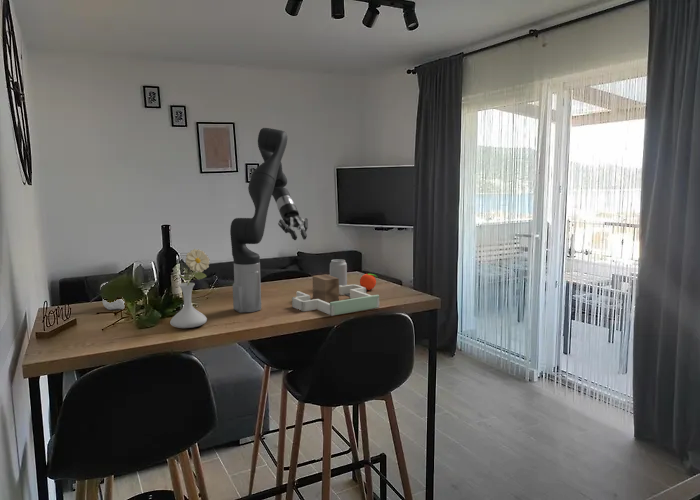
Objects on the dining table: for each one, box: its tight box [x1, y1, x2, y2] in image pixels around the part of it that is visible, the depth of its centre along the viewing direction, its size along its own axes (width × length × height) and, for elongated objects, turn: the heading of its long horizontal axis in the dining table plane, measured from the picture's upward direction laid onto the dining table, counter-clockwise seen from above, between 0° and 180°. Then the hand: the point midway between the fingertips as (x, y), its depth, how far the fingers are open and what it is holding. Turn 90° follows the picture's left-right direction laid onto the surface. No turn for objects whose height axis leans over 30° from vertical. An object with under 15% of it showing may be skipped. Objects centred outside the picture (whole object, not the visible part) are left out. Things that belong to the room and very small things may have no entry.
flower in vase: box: [169, 248, 211, 329], centre depth 161 cm, size 13×11×25 cm
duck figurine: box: [100, 281, 126, 311], centre depth 184 cm, size 12×8×11 cm
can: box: [329, 258, 348, 286], centre depth 219 cm, size 8×8×12 cm
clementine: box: [359, 273, 379, 291], centre depth 213 cm, size 8×7×7 cm
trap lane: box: [291, 283, 380, 316], centre depth 190 cm, size 32×27×4 cm
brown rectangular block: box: [312, 274, 340, 303], centre depth 197 cm, size 6×10×9 cm, turn 33°
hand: (300, 238), depth 211 cm, fingers open, 3 cm apart
